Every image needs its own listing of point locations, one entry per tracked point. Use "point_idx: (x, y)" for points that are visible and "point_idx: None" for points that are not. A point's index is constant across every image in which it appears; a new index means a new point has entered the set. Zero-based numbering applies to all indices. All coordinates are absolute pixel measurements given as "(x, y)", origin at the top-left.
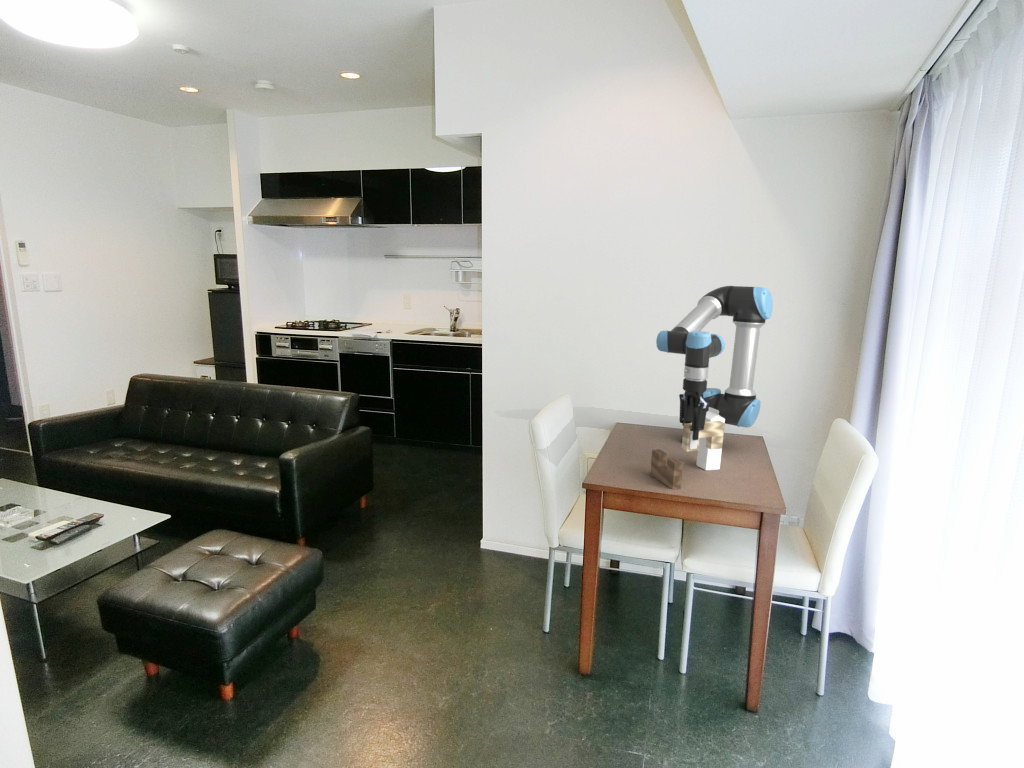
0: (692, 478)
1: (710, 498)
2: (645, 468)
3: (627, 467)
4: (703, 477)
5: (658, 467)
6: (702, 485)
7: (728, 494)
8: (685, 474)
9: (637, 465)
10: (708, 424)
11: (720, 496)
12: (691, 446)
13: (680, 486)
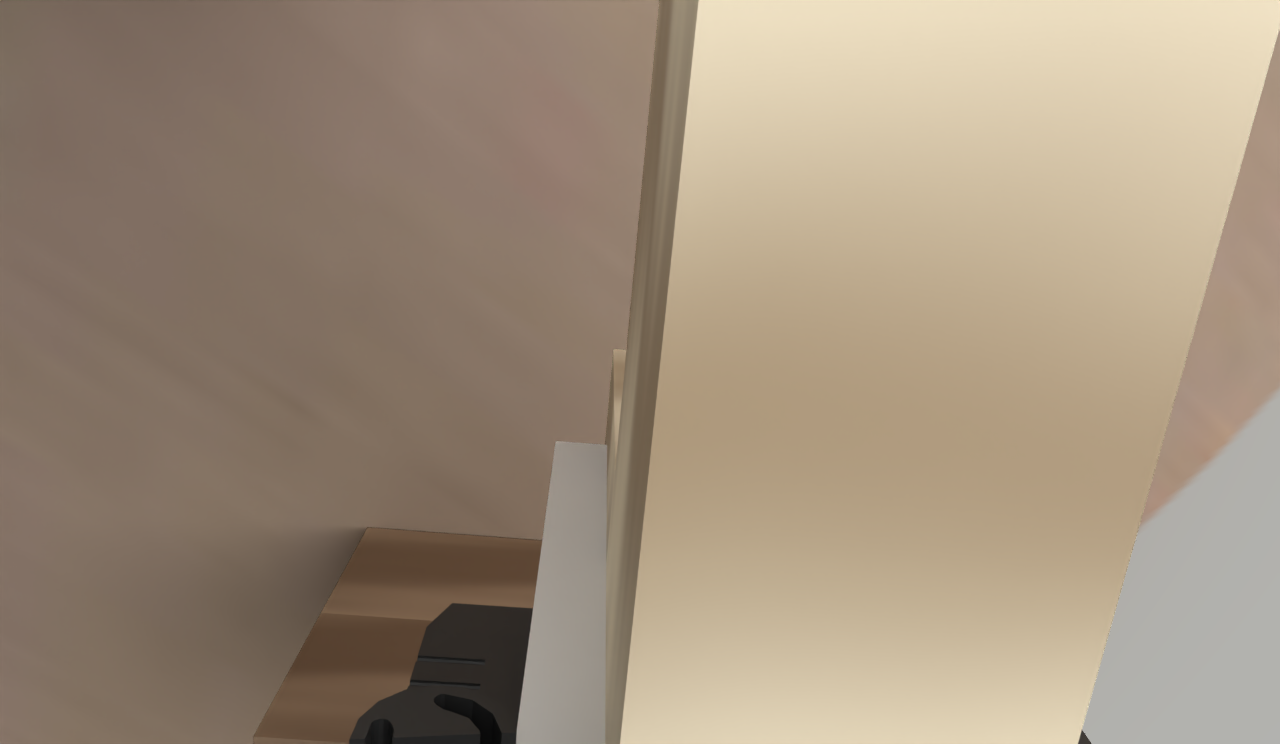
0: (637, 208)
1: (1225, 441)
2: (151, 554)
3: (80, 725)
4: (655, 26)
5: None
6: None
7: (1252, 147)
8: (479, 198)
9: (26, 583)
10: (1187, 334)
11: (1244, 291)
12: None
13: None
